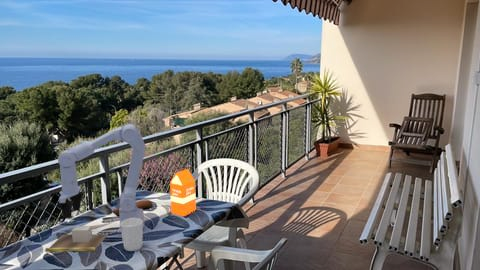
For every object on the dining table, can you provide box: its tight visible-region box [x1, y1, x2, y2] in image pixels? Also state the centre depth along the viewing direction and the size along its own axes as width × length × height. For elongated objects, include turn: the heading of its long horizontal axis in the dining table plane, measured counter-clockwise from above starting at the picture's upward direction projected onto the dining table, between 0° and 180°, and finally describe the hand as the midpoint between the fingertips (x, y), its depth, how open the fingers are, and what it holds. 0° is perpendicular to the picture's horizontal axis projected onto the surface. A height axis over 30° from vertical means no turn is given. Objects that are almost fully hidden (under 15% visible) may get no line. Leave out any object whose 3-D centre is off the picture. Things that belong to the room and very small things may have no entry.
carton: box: [71, 225, 93, 242], centre depth 145 cm, size 4×6×5 cm, turn 90°
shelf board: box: [44, 233, 108, 253], centre depth 143 cm, size 18×14×2 cm
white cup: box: [121, 218, 144, 252], centre depth 139 cm, size 8×8×10 cm
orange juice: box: [169, 168, 197, 217], centre depth 173 cm, size 8×9×20 cm
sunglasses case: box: [111, 199, 154, 217], centre depth 177 cm, size 18×7×7 cm
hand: (72, 213), depth 148 cm, fingers open, 7 cm apart
